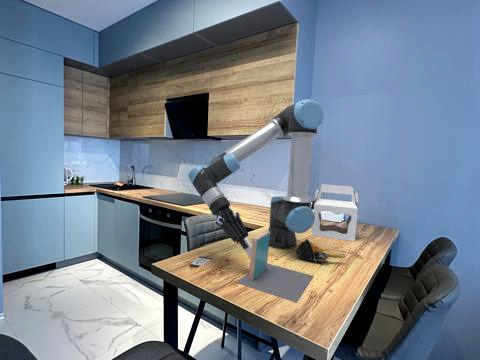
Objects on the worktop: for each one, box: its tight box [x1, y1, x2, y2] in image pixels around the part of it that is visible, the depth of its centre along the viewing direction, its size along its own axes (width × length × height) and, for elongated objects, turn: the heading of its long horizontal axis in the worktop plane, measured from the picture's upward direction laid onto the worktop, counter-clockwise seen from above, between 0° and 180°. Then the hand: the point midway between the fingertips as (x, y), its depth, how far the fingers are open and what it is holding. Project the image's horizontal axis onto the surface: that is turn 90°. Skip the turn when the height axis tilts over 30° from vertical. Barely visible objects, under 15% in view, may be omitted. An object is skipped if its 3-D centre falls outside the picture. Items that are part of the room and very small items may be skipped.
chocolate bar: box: [189, 255, 214, 269], centre depth 96 cm, size 9×1×18 cm
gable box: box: [311, 183, 359, 242], centre depth 141 cm, size 22×13×28 cm, turn 70°
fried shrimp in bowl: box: [295, 239, 346, 264], centre depth 105 cm, size 9×11×18 cm
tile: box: [248, 230, 270, 280], centre depth 89 cm, size 11×2×14 cm, turn 151°
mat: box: [235, 262, 315, 304], centre depth 86 cm, size 20×20×1 cm
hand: (253, 255), depth 89 cm, fingers closed
